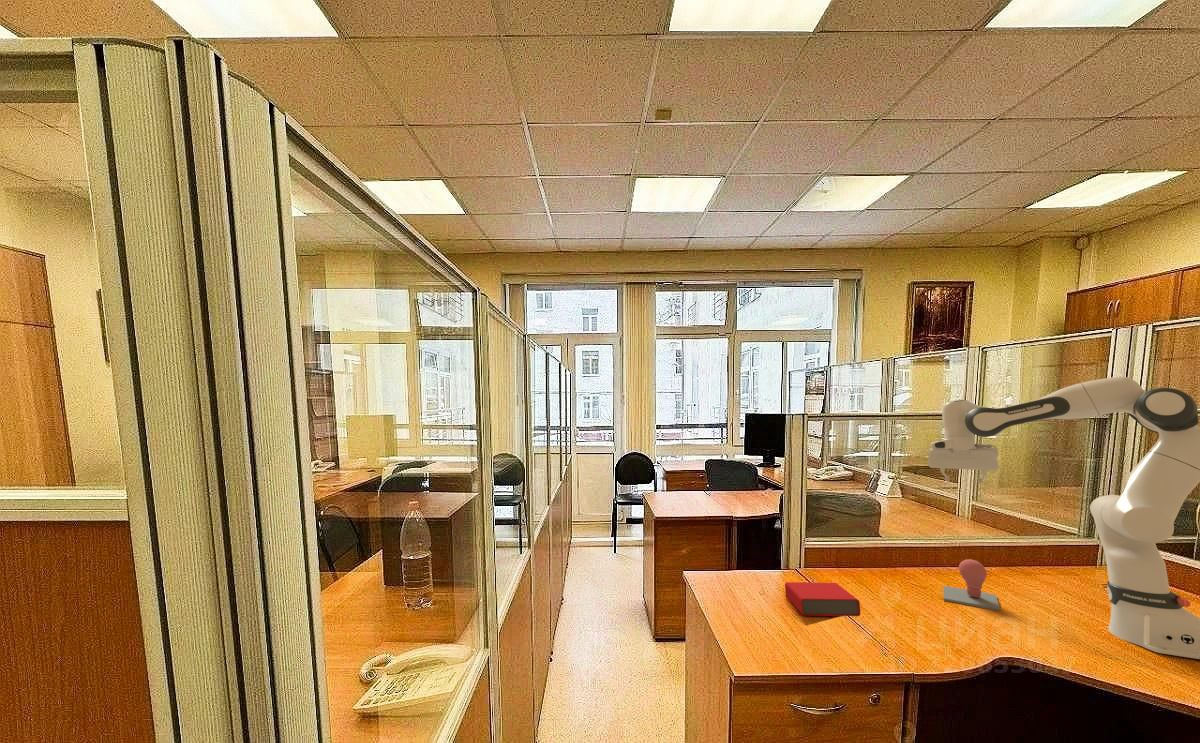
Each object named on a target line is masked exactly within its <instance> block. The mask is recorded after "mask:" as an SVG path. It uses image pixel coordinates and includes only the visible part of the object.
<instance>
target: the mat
mask: <svg viewBox="0 0 1200 743" xmlns="http://www.w3.org/2000/svg"><path fill="white" fill-rule="evenodd" d="M942 587H943V601H944V602H949V603H955V604H959V605H965V606H971V607H975V608H976V607H977V608H980V609H986V610H992V611H996V612H997V611H998V612H1001V608H1000V605H999V601H998V598H997V595H996V594H994V593H989V592H983V591H981V597H973V596H970V595H968V594H967V592H966V591H967V589H966V588H958V587H955V586H947V585H943V586H942Z"/></svg>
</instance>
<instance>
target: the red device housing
mask: <svg viewBox="0 0 1200 743" xmlns="http://www.w3.org/2000/svg"><path fill="white" fill-rule="evenodd" d="M784 587H785V588H784V589H785V597H786V598H787V599H788V600H789V601H790V602H791V603H792V604H793V606H794V607H795V608H796V609H797V610H798V611H799V613H800V614H801V615H802V616H811V617H812V616H813V617H814V616H816V617H817V616H820V617H821V616H823V617H824V616H825V617H826V616H827V617H829V616H830V617H860V616H861V614H862V613H861V603H860V600H859V599H858V598H857V597H855V596H854V595H853V594H851V593H850V592H849V591H847V589H845V588H844V587H842V586H841V585H840V584H838V583H837V582H805V581H804V582H803V581H802V582H799V581H798V582H797V581H796V582H795V581H794V582H792V581H789V582H785V583H784Z"/></svg>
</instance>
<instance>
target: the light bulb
mask: <svg viewBox="0 0 1200 743" xmlns="http://www.w3.org/2000/svg"><path fill="white" fill-rule="evenodd" d="M958 571H959V573H960V575H961V577H962V579H963V580H964V581H965V583H966V584H965V585H966V588H965V589H966V590H967V591H966V592H967V594H968V595H970V596H973V597H981V592H982V589H983V584H984V582H985V581H986V579H987V575H988V573H987V570H986V568H985V567H984V565H982V563H981V562H979V561H977V560H975V559H971V558H970V559H963V560H962V561H961V562H960V563H959V565H958Z"/></svg>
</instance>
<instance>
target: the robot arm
mask: <svg viewBox="0 0 1200 743" xmlns="http://www.w3.org/2000/svg"><path fill="white" fill-rule="evenodd" d="M941 410H942V411H941V414H942V415H941V418H942V425H943V428H944V434H943V437H944V438H943V439H938V440H936V441H932V442H930V447H931V448H930V450H929V452H928V457H927V464H928V465H927V466H928V467H929V468H931V469H940V470H939V471H940V473H941V474H942V475H943V477H944V481H945V482H950V481H951V479H950V477H951V476H950V475H947V474H946V473H945V472H946V469H947V470H948V469H949V470H950V469H951V470H967V471H968V470H969V471H970V470H971V471H973V470H974V471H980V473H981V475H980V477H977V483H979V484H984V479H985V477H986V475H987V471H993V472H994V471H998V470H1000V465H999V461H998V458H997V457H998V455H999V448H997V446H995V445H992V444H989V443H987V444H983V443H976V437H975V436H977V437H982V438H983V437H985V438H988V437H993V436H995V435H998V434H1001V433H1002V432H1004V431H1005V430H1006V429H1007V428H1010V427H1013V426H1017V425H1023V424H1028V423H1032V422H1037V421H1043V420H1052V419H1053V420H1076V419H1077V420H1080V419H1088V418H1094V417H1095V418H1096V417H1099V416H1104V415H1109V414H1113V413H1115V414H1116V413H1126V414H1127V415H1128V416H1130V418H1132V419H1133V420H1134V421H1135V422H1137V423H1138V424H1139V425H1140V426H1141V427H1143V428H1145V429H1146V430H1147V431H1150V432H1152V433H1156V434H1158V439H1157V441H1156V443H1154V445H1152V447H1151V448H1150V449H1149V450H1148V452H1146V453H1145V455H1144V456H1143V457H1142V458H1141V459H1140V461H1138V462H1137V464H1136V465H1135V466H1134V468H1133V469H1132V470H1131V471H1130V472H1129V475H1128V476H1129V478H1128V482H1127V484H1126V486H1125V488H1124V490H1123V492H1122V493H1121V495H1118V494H1109V495H1102V496H1099V497H1096V498H1095V499H1093V501H1092V502H1091V503H1090V506H1089V512H1090V514H1091V515H1092V518H1093V520H1094V523H1095V527H1096V530H1097V534H1098V537H1099V539H1100V542H1101V546H1102V549H1103V552H1104V557H1105V563H1106V568H1107V570H1106V571H1107V575H1108V576H1107V577H1108V580H1107V582H1106V584H1107V586H1106V589H1107V596H1108V599H1109V602H1110V618H1109V619H1110V620H1109V624H1108V627H1107V630H1108V632H1109V633H1110V634H1112V635H1113V636H1115V637H1116V638H1118V639H1121V640H1122V641H1125V642H1128V643H1131V644H1133V645H1137V646H1139V647H1143V648H1145V649H1148V650H1149V651H1153V652H1154V653H1158V654H1164V655H1171V656H1176V657H1184V658H1191V659H1196V660H1200V617H1198V616H1197V615H1196V614H1193V613H1192V612H1190V611H1189V610H1187V609H1186V608H1189V607H1190V606H1192V603H1191V602H1190V601H1189V600H1188V599H1187V598H1186V597H1182V596H1180V595H1179V594H1177V593H1175V592H1173V591H1171V590H1170V585H1169V577H1168V571H1167V566H1166V562H1165V560H1164V559H1163V557H1162V555H1161V553H1160V552H1159V549H1158V547H1157V545H1156V543H1161V542H1164V541H1166V540H1168V539H1170V538H1171V537H1172V536H1173V535H1174V532H1175V531H1174V530H1175V526H1174V523H1175V520H1176V518H1177V516H1178V514H1179V512H1180V510H1181V508H1182V506H1183V504H1184V502H1185V500H1186V499H1187V497H1188V496H1189V495H1190V493H1191V492H1192V491H1193V490H1194V489H1195V488H1196V487H1197V486H1198V485H1199V483H1200V426H1199V425H1198V424H1199V422H1200V420H1199V414H1198V412H1199V410H1198V406H1197V403H1196V401H1195V399H1194V398H1193V397H1192V396H1191V395H1190V394H1188V393H1186V392H1184V391H1183V390H1180V389H1176V388H1173V387H1172V388H1171V387H1157V388H1152V389H1150V390H1145V389H1143V387H1142V386H1141V385H1140V384H1139V382H1137V381H1136V380H1134V379H1133V378H1130V377H1126V376H1114V377H1113V376H1111V377H1107V378H1099V379H1094V380H1089V381H1083V382H1080V383H1075V384H1072V385H1069V386H1065V387H1062V388H1060V389H1058V390H1055V391H1052V392H1051V393H1048V394H1047V395H1045V396H1042V397H1040V398H1038V399H1034V400H1031V401H1029V402H1028V401H1027V402H1023V403H1019V404H1014V405H1010V406H1007V407H1006V406H1005V407H1000V408H999V407H998V408H995V407H994V408H993V407H985V406H983V405H978V404H975V403H973V402H971V401H969V400H967V399H959V400H952V401H948V402H946V403H944V404H943V406H942V409H941ZM965 413H967V414H965ZM1184 607H1185V608H1184Z"/></svg>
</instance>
